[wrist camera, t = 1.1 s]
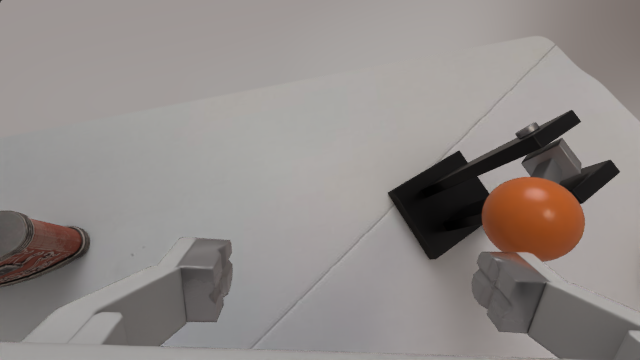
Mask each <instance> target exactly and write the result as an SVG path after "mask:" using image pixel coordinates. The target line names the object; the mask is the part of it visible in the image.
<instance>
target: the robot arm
mask: <svg viewBox="0 0 640 360" xmlns="http://www.w3.org/2000/svg"><path fill="white" fill-rule="evenodd" d="M231 253H232V246H231V242H230V240H222V239H206V238H190V237H182V238H179V239H178V241H177V242H176V243H175V244H174V245H173V247H172V248H171V249H170V250H169V251H168V253H167V254H166V255H165V256H164V257H163V259H162V260H161V261H160V262H159V263H158V265H157V266H150V267H148V268H146V269H144V270H141V271H139V272H137V273H135V274H133V275H130V276H128V277H126V278H124V279H121V280H119V281H117V282H115V283H113V284H110V285H108V286H106V287H104V288H102V289H99V290H97V291H95V292H93V293H91V294H88V295H86V296H84V297H82V298H79V299H77V300H75V301H73V302H71V303H68V304H66V305H64V306H62V307H60V308H57V309H56V310H55V311H54V312H53V313H52V314H50V315H49V316H48V317H47V318H46V319H45V320H44V321H43V322H42V323H40V324H39V325H38V326H37V327H36V328H35V329H34V330H33V331H32V332H30V333H29V334H28V335H27V336H26V337H25V338H24V339H23V340H22V341H21V342H0V360H640V312H638V311H636V310H634V309H632V308H629V307H627V306H625V305H622V304H620V303H618V302H615V301H613V300H611V299H609V298H606V297H604V296H602V295H599V294H597V293H595V292H592V291H590V290H588V289H585V288H583V287H581V286H579V285H576V284H574V283H568V282H567V281H566V280H564V279H563V278H562V277H561V276H559V275H558V274H557V273H556V272H554V271H553V270H552V269H551V268H550V267H548V266H547V265H546V264H545V263H543V262H542V261H541V260H540V259H538V258H537V257H536V256H535V255H533V254H531V253H528V252H481V254H480V255H479V257H478V260H477V264H478V266H479V268H480V269H479V270H478V271H477V272H475V273H474V274H473V279H472V292H473V294H474V297H475V299H476V300H477V302H478V303H479V304H480V305H481V306H483V307H485V308H486V309H488V310H487V316H488V317H489V318H490V320H491V321H492V323H493V324H494V325H495V327H496V328H497V329H498V331H499V332H513V333H528V334H527V335H528V336H530V337H531V338H532V339H534V340H535V341H536V342H538V343H539V344H540V345H542V346H543V347H544V348H546V349H547V350H548V351H550V352H551V353H552V354H554V355H555V356H557V357H558V358H559V359H553V358H520V357H487V356H454V355H422V354H390V353H357V352H325V351H292V350H260V349H228V348H195V347H163V346H160V345H161V344H163V343H164V342H165V341H166V340H167V339H169V338H170V337H171V336H172V335H173V334H175V333H176V332H177V331H178V330H179V329H181V328H182V327H183V326H184V325H185V324H186V322H217V320H218V318H219V315H220V313H221V310H222V308H223V305H224V304H223V297H225V296H226V295H228V292H229V290H230V286H231V281H232V272H233V268H232V263H231V262H230V261H229V258H230V255H231Z"/></svg>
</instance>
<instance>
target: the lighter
mask: <svg viewBox="0 0 640 360" xmlns="http://www.w3.org/2000/svg"><path fill="white" fill-rule="evenodd" d="M89 244H90V238H89V236H88V233H87V232H86V231H85V230H84V229H81V228H78V227H74V226H64V227H63V226H59V225H55V224H51V223H46V222H42V221H38V220H34V219H30V218H29V217H28V216H26V215H24V214H21V213H18V212H14V211H0V287H5V286H10V285H14V284H17V283H21V282H24V281H27V280H31V279H34V278H37V277H40V276H42V275H44V274H47V273H49V272H51V271H54V270H56V269H58V268H61V267H63V266H64V265H66V264H68V263H70V262H72V261H74V260H75V259H77V258H79V257H81V256H82V255H84V254H85V253H86V251H87V250H88V248H89Z"/></svg>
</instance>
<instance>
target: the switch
mask: <svg viewBox="0 0 640 360" xmlns="http://www.w3.org/2000/svg"><path fill="white" fill-rule="evenodd" d="M521 164H522V165H523V166H524V168H525V169H526V171H527V172H528V173H529V175H530V176H531V177H521V178H516V179H512V180H509V181H507V182H504V183H503V184H501V185H499V186H498V187H496V188H495V189H494V190H493V191H492V192H491V193H490V194H489V196H488V197H487V199H486V201H485V202H484V205H483V208H482V224H483V228H484V231H485V233H486V235H487V236H488V238H489V239H490V241H491V242H492V243H493V244H494V245H495V246H496V247H497V248H498V249H500V250H501V251H502V252H528V253H531V254H533V255H535V256H536V257H537V258H538V259H540V260H541V261H542V262H544V261H550V260H554V259H557V258H559V257H561V256H564V255H565V254H567V253H568V252H570V251H571V250H572V249H573V248H574V247H575V246H576V245H577V244H578V242H579V241H580V239H581V237H582V235H583V232H584V226H585V218H584V213H583V210H582V208H581V206H580V204H579V202H578V200H577V199H576V198H575V197H574V195H573V194H572V193H571V192H569V191H568V190H567V189H566V188H564V187H563V186H561V185H559V183H560V182H561V181H563V180H566V179H568V178H571V177H573V176H576V175H578V174H580V173H581V162H580V161H579V159H578V158H577V157H576V155H575V154H574V153H573V152H572V150H571V149H570V148H569V146H568V145H567V144H566V142H565V141H564V140H563V138H560V139H558V140H556V141H554V142H552V143H550V144H548V145H546V146H545V147H543V148H542V149H539V150H537V151H535V152H532V153H530V154H528V155H527V156H526V157H525V159H524V160H523V161H522V163H521Z"/></svg>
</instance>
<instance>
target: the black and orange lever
mask: <svg viewBox="0 0 640 360" xmlns="http://www.w3.org/2000/svg"><path fill="white" fill-rule="evenodd" d="M580 122H581V121H580V119H579V118H578V117H577V116H576V114H575V113H574V112H573V110H570V111H568V112H566V113H565V114H563V115H561V116H559V117H557V118H555V119H553V120H551V121H549V122H547V123H545V124H543V125H541V126H538V124H537V123H536V122H535V123H532V124H531V125H529V126H527V127H525V128H523V129H522V130H520V131H518V132H517V133H516V136H517V137H518V138H516V139H514V140H512V141H510V142H508V143H506V144H504V145H502V146H500V147H498V148H496V149H494V150H492V151H490V152H488V153H486V154H484V155H482V156H480V157H478V158H476V159H474V160H472V161H471V162H469V163H468V162H467V161H466V160H465V158H464V157H463V155H462V154H461V152H460V151H457V152H456V153H454V154H452V155H451V156H449V157H447V158H446V159H444V160H442V161H440V162H439V163H437V164H435V165H434V166H432V167H430V168H429V169H427V170H425V171H424V172H422V173H420V174H419V175H417V176H415V177H414V178H412V179H410V180H409V181H407V182H405V183H404V184H402V185H400V186H399V187H397V188H395V189H393V190H392V191H390V192H388V194H389V196H390V197H391V199H392V200H393V202H394V203H395V205H396V207H397V208H398V210H399V211H400V213H401V215H402V216H403V218H404V219H405V221H406V223H407V224H408V226H409V227H410V229H411V230H412V232H413V234H414V235H415V237H416V238H417V240H418V242H419V243H420V245H421V246H422V248H423V249H424V251H425V253H426V254H427V256H428V257H429V259H437V258H438V257H439V256H441V255H442V254H443V253H445V252H446V251H448V250H449V249H450V248H452V247H453V246H454V245H456V244H457V243H458V242H460V241H461V240H462V239H464V238H465V237H467V236H468V235H469V234H471V233H472V232H473V231H475V230H476V229H477V228H479V227H480V226H482V225H483V224H482V208H483V205H484V202H485V201H486V199H487V197H488V196H489V193H488V191H487V190H486V189H485V187H484V186H483V184H482V183H481V181H480V180H479V178H478V177H477V176H479V175H481V174H483V173H486V172H488V171H490V170H493V169H495V168H497V167H500V166H502V165H504V164H507V163H509V162H511V161H514V160H516V159H518V158H521V157H523V156H525V155H528V154H530V153H532V152H535V151H537V150H539V149H542V148H543V147H545V146H546V145H548V144H549V143H551V142H552V141H554V140H555V139H557V138H558V137H559V136H561V135H562V134H564V133H565V132H567V131H568V130H570V129H571V128H573V127H574V126H576V125H577V124H579V123H580ZM618 173H620V171H619V170H618V168H617V167H616V166H615V165H614V163H613V162H612V161H611V160H608V161H604V162H601V163H598V164H595V165H592V166H588V167H585V168H582V169H581V173H580V174H578V175H576V176H573V177H571V178H568V179H566V180H563V181H561V182H560V183H559V185H561V186H563V187H564V188H566V189H567V190H568V191H569V192H571V193H572V194H573V195H574V197H575V198H576V199H577V200H578V202H579V204H582V203H584V202H585V201H586V200H587V199H588V198H590V197H591V196H592V195H593V194H594V193H596V192H597V191H598V190H599V189H600V188H602V187H603V186H604V185H605V184H606V183H608V182H609V181H610V180H611V179H612V178H614V177H615V176H616V175H617V174H618Z"/></svg>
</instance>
